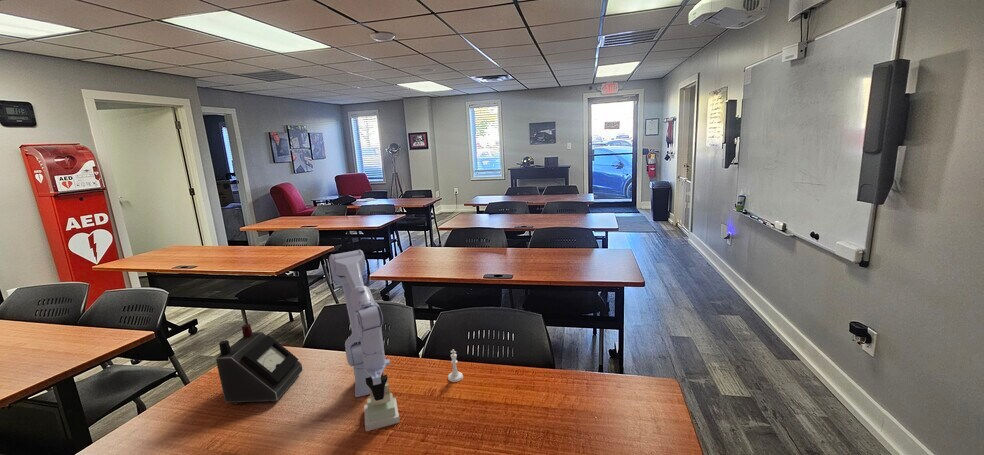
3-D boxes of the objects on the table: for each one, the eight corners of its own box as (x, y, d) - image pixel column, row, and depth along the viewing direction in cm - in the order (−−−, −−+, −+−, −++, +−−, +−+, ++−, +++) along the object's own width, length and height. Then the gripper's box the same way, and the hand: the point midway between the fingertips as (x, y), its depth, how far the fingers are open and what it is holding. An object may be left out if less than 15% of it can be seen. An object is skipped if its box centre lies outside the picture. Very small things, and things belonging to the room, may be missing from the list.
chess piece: (460, 382, 127) (458, 354, 125) (446, 381, 128) (443, 353, 126) (464, 373, 132) (462, 346, 130) (450, 372, 133) (448, 345, 131)
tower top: (368, 406, 115) (367, 399, 115) (392, 400, 118) (391, 392, 117) (369, 422, 109) (368, 414, 108) (395, 415, 111) (394, 407, 111)
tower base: (365, 413, 117) (364, 405, 116) (396, 405, 119) (395, 397, 119) (366, 433, 108) (365, 425, 108) (400, 424, 111) (399, 416, 110)
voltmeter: (279, 404, 122) (267, 344, 118) (226, 406, 122) (212, 346, 118) (304, 374, 138) (294, 320, 133) (257, 375, 138) (246, 322, 134)
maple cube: (370, 395, 114) (368, 379, 113) (388, 391, 116) (387, 375, 114) (371, 405, 109) (369, 389, 108) (390, 401, 111) (388, 385, 110)
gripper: (390, 359, 104) (396, 405, 106) (385, 334, 117) (390, 376, 120) (361, 365, 101) (368, 412, 104) (360, 339, 115) (366, 381, 118)
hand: (378, 393), depth 112 cm, fingers closed on maple cube, 5 cm apart
